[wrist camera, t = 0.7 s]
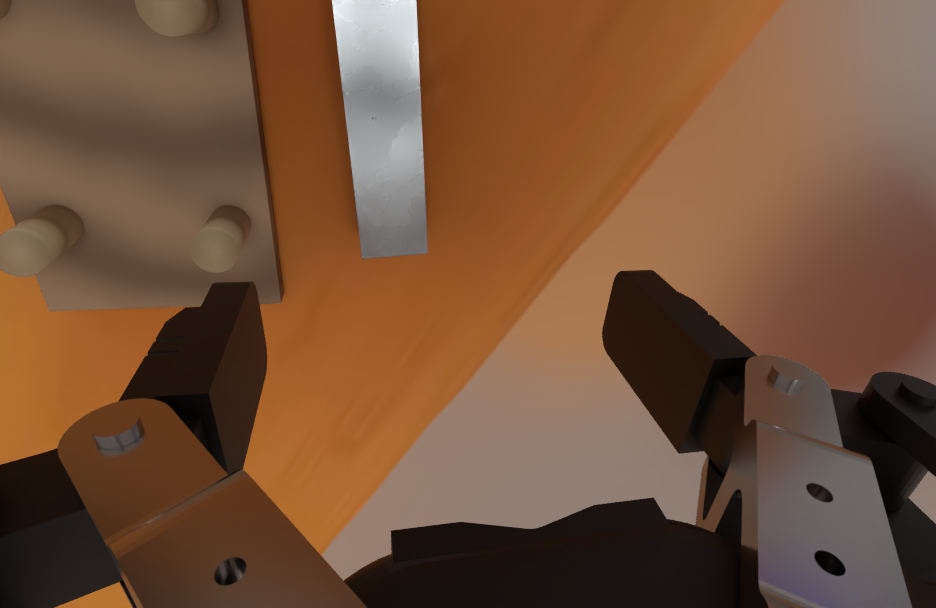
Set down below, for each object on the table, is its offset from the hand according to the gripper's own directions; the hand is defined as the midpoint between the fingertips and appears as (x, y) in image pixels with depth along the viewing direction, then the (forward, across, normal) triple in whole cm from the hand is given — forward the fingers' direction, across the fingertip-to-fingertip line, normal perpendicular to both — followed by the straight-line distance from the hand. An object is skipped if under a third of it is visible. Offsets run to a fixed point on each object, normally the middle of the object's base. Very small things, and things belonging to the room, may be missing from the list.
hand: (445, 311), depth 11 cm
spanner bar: (+19, +1, -2) cm, 20 cm away
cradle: (+19, +13, 0) cm, 23 cm away
